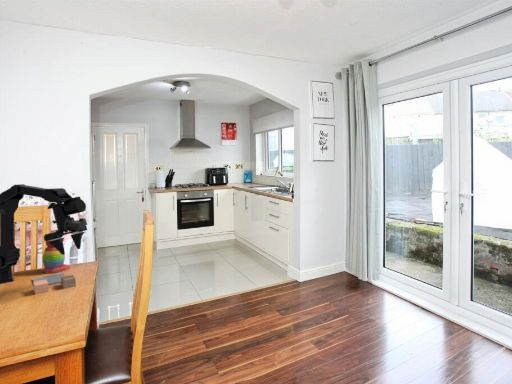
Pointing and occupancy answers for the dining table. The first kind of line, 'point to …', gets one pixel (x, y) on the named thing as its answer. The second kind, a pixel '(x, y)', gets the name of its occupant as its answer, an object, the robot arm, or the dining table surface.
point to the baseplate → (51, 279)
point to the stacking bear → (53, 260)
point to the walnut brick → (68, 281)
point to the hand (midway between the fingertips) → (71, 251)
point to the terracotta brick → (40, 287)
